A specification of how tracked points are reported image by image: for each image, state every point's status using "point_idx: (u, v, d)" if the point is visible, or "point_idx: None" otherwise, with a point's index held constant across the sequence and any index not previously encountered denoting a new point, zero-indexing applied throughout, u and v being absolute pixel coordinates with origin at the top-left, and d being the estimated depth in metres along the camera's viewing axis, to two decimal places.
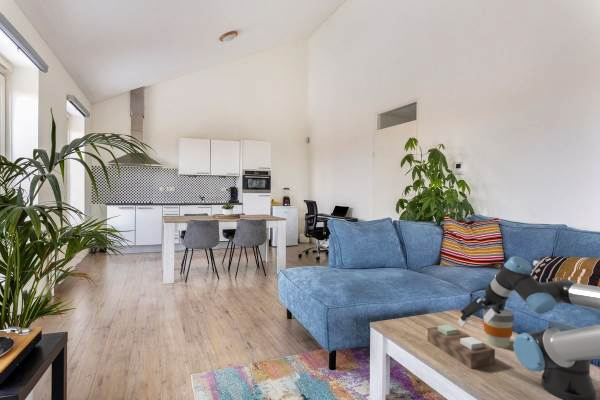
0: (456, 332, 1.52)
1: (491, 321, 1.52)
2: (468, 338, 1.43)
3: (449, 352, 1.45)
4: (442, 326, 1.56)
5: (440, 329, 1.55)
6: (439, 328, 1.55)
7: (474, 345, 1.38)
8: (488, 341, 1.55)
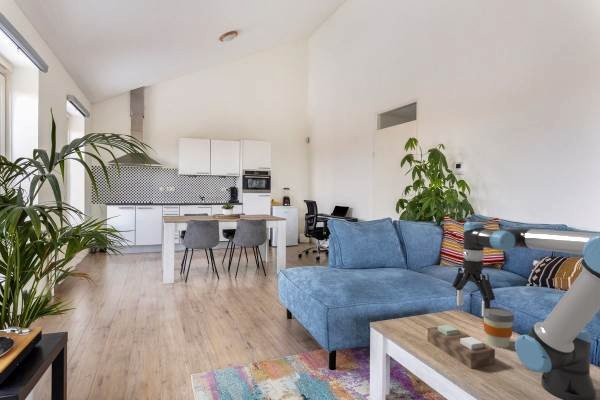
0: (456, 332, 1.52)
1: (491, 321, 1.52)
2: (468, 338, 1.43)
3: (449, 352, 1.45)
4: (442, 326, 1.56)
5: (440, 329, 1.55)
6: (439, 328, 1.55)
7: (474, 345, 1.38)
8: (488, 341, 1.55)
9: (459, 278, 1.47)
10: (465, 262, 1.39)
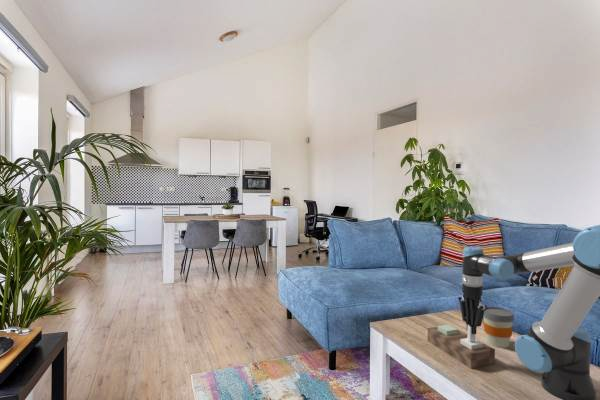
0: (456, 332, 1.52)
1: (491, 321, 1.52)
2: None
3: (449, 352, 1.45)
4: (442, 326, 1.56)
5: (440, 329, 1.55)
6: (439, 328, 1.55)
7: (474, 346, 1.38)
8: (488, 341, 1.55)
9: (464, 308, 1.44)
10: (464, 288, 1.40)
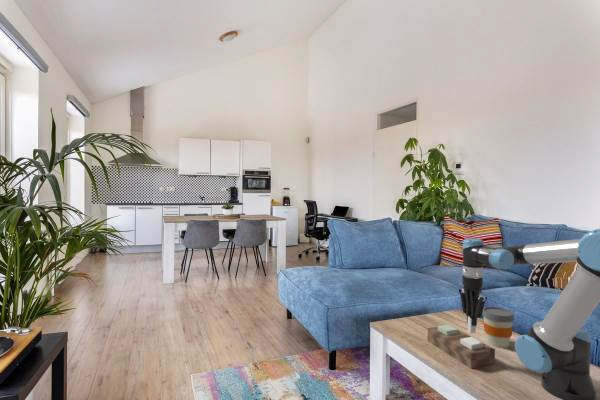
0: (456, 332, 1.52)
1: (491, 321, 1.52)
2: (468, 338, 1.43)
3: (449, 352, 1.45)
4: (442, 326, 1.56)
5: (440, 329, 1.55)
6: (439, 328, 1.55)
7: (474, 346, 1.38)
8: (488, 341, 1.55)
9: (464, 300, 1.44)
10: (464, 279, 1.40)
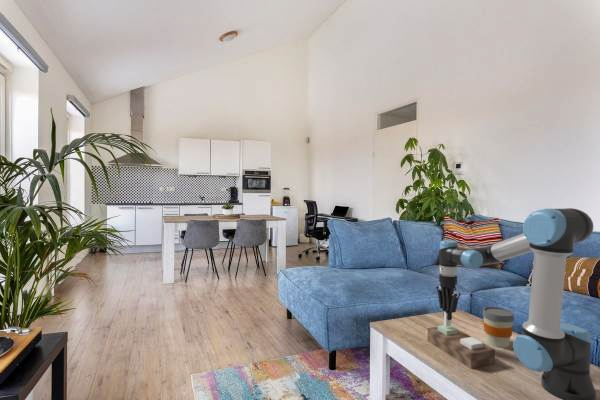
0: (456, 332, 1.52)
1: (491, 321, 1.52)
2: (468, 338, 1.43)
3: (449, 352, 1.45)
4: (442, 326, 1.56)
5: (440, 329, 1.55)
6: (439, 328, 1.55)
7: (474, 346, 1.38)
8: (488, 341, 1.55)
9: (441, 296, 1.58)
10: (441, 277, 1.53)
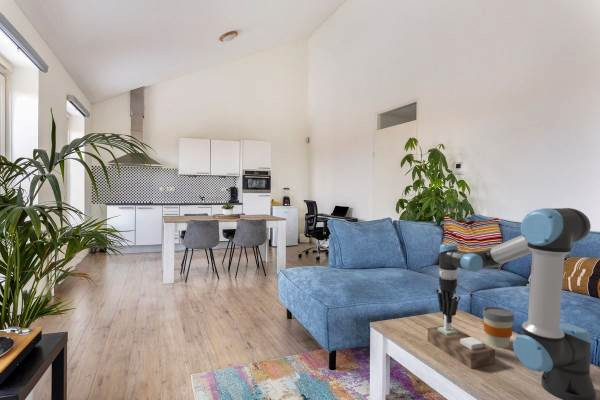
0: None
1: (491, 321, 1.52)
2: (468, 338, 1.43)
3: (449, 352, 1.45)
4: (442, 328, 1.56)
5: (440, 331, 1.55)
6: (439, 330, 1.55)
7: (474, 346, 1.38)
8: (488, 341, 1.55)
9: (441, 299, 1.58)
10: (440, 280, 1.53)
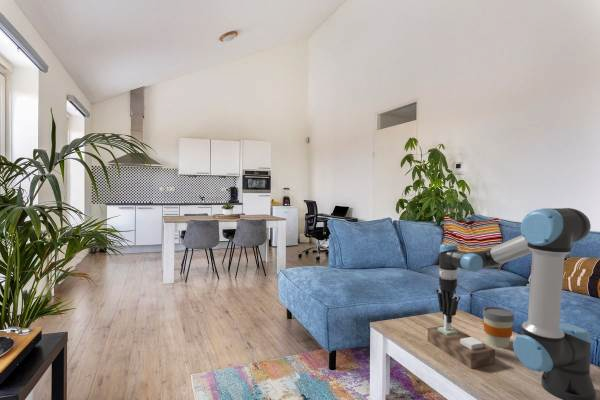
0: None
1: (491, 321, 1.52)
2: (468, 338, 1.43)
3: (449, 352, 1.45)
4: (442, 328, 1.56)
5: (440, 331, 1.55)
6: (439, 330, 1.55)
7: (474, 346, 1.38)
8: (488, 341, 1.55)
9: (441, 299, 1.58)
10: (440, 280, 1.53)
